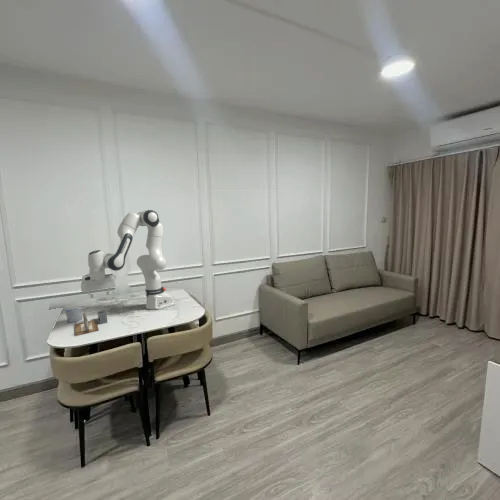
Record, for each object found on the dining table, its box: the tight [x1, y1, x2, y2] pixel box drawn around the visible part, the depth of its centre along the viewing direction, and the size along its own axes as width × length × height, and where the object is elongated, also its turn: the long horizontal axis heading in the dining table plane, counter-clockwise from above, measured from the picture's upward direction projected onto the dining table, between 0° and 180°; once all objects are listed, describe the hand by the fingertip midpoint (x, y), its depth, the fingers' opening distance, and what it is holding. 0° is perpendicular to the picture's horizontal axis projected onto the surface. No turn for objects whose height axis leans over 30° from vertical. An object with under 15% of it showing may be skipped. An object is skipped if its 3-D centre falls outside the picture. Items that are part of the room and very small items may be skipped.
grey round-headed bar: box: [97, 310, 108, 325], centre depth 189 cm, size 5×12×5 cm, turn 33°
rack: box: [74, 312, 99, 337], centre depth 177 cm, size 12×19×7 cm, turn 32°
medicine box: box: [65, 306, 83, 324], centre depth 190 cm, size 8×4×9 cm, turn 141°
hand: (100, 296), depth 185 cm, fingers open, 8 cm apart
